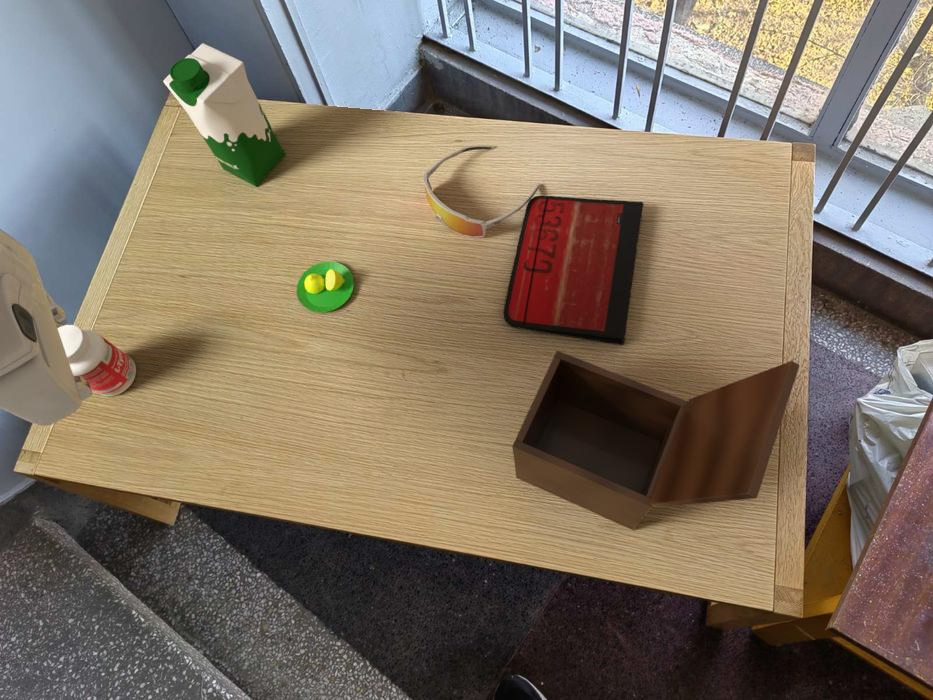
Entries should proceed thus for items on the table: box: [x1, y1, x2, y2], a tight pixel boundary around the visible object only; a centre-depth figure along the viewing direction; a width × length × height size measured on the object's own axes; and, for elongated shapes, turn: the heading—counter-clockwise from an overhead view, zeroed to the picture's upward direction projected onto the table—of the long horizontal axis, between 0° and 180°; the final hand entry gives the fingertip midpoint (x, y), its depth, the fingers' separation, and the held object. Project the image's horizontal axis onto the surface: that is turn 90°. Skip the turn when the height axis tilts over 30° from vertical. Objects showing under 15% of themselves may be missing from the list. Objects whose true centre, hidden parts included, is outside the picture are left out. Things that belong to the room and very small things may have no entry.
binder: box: [503, 195, 645, 346], centre depth 91 cm, size 16×2×21 cm
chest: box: [511, 350, 688, 531], centre depth 75 cm, size 15×12×13 cm
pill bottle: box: [57, 324, 137, 397], centre depth 87 cm, size 6×6×11 cm
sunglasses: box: [423, 145, 541, 239], centre depth 97 cm, size 14×15×5 cm
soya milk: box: [162, 42, 286, 188], centre depth 96 cm, size 9×9×20 cm
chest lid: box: [649, 360, 800, 509], centre depth 59 cm, size 16×12×1 cm
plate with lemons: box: [296, 261, 355, 313], centre depth 93 cm, size 8×8×3 cm
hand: (71, 355), depth 68 cm, fingers open, 8 cm apart
